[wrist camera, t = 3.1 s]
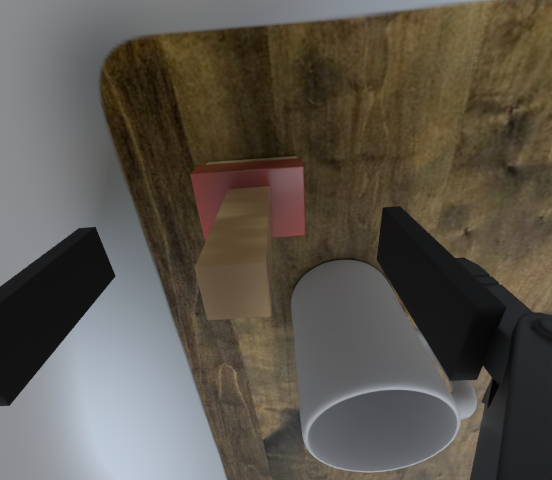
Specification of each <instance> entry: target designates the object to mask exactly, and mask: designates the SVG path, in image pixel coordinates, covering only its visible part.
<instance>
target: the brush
mask: <svg viewBox="0 0 552 480" xmlns="http://www.w3.org/2000/svg"><path fill="white" fill-rule="evenodd" d="M190 175H191V180H192V185H193V189H194V194H195V199H196V203H197V208H198V213H199V217H200V222H201V227H202V231H203V236H204V241H205V244H204V247H203V249H202V251H201V254H200V256H199V258H198V261H197V263H196V265H195V271H196V275H197V279H198V283H199V287H200V292H201V296H202V300H203V304H204V308H205V312H206V316H207V319H208V320H221V319H239V318H257V317H271V315H272V238H275V237H291V236H305V235H306V233H305V186H304V165H303V162H302V160H301V158H297V157H296V156H289V157H275V158H261V159H247V160H232V161H218V162H207V163H206V164H205V165H198V166H197V167H196V169H195V170H194V171H193V172H192V173H191V174H190Z"/></svg>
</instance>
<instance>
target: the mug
mask: <svg viewBox="0 0 552 480" xmlns="http://www.w3.org/2000/svg"><path fill="white" fill-rule="evenodd" d="M291 313H292V322H293V331H294V343H295V355H296V368H297V380H298V392H299V405H300V417H301V428H302V436H303V440H304V443H305V446H306V448H307V449H308V451H309V452H310V453H311V454H312V455H313V456H314V457H315V458H316V459H318V460H319V461H321V462H323V463H324V464H327V465H329V466H331V467H335V468H338V469H342V470H347V471H354V472H382V471H390V470H395V469H400V468H404V467H408V466H411V465H414V464H417V463H419V462H422V461H424V460H426V459H428V458H430V457H432V456H434V455H436V454H437V453H439V452H440V451H442V450H443V449H444V448H446V447H447V446H448V445H449V444H450V443H451V442H452V440H453V439H454V438H455V436H456V435H457V433H458V430H459V428H460V421H461V419H465V418H468V417H469V416H471V415H472V414H473V413H474V411H475V409H476V405H477V399H476V394H475V391H474V389H473V386H472V384H471V382H470V380H461V381H450V380H449V378H448V376H447V375H446V373H445V371H444V370H443V368H442V366H441V365H440V363H439V361H438V360H437V358H436V356H435V355H434V353H433V352H432V350H431V348H430V347H429V345H428V343H427V342H426V340H425V338H424V337H423V335H422V333H421V332H420V330H418V329H414V328H413V326H412V325H411V323H410V321H409V319H408V318H407V316H406V314H405V312H404V311H403V309H402V307H401V305H400V303H399V302H398V300H397V298H396V296H395V294H394V292H393V290H392V288H391V286H390V285H389V283H388V282H387V280H386V279H385V277H384V276H383V275H382V274H381V273H380V272H379V271H378V270H377V269H375V268H374V267H372V266H371V265H369V264H366V263H364V262H360V261H355V260H335V261H331V262H327V263H324V264H321V265H319V266H317V267H315V268H313V269H312V270H310V271H309V272H308V273H306V274H305V275H304V276H303V277H302V278H301V279H300V280H299V282H298V283H297V285H296V286H295V288H294V291H293V294H292V298H291ZM430 357H432V358H433V359H434V360H435V362H436V363H437V364H438V365H439V367H440V368H441V369H442V371H443V372H444V374H445V375H446V377H447V379H448V381H449V383H450V385H451V387H452V391H453V392H450V391H449V390H448V388H447V386H446V384H445V383H444V381H443V379H442V377H441V376H440V374H439V372H438V370H437V369H436V367H435V365H434V363H433V362H432V360H431V358H430Z"/></svg>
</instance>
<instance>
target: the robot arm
mask: <svg viewBox="0 0 552 480" xmlns="http://www.w3.org/2000/svg"><path fill="white" fill-rule="evenodd" d="M377 260H378V262H379V264H380V265H381V267H382V269H383V270H384V272H385V274H386V275H387V277H388V279H389V280H390V282H391V284H392V285H393V287H394V289H395V290H396V292H397V294H398V295H399V297H400V299H401V300H402V302H403V304H404V305H405V307H406V308H407V310H408V312H409V313H410V315H411V317H412V318H413V320H414V322H415V323H416V325H417V327H418V328H419V330H420V332H421V333H422V335H423V337H424V338H425V340H426V342H427V343H428V345H429V347H430V348H431V350H432V352H433V353H434V355H435V356H436V358H437V360H438V361H439V363H440V365H441V366H442V368H443V370H444V371H445V373H446V375H447V376H448V378H449V380H450V381H461V380H477V378H478V376H479V373H480V371H481V369H482V366H484V367H485V369H486V370H487V371H488V373H489V374H490V375H491V377H492V379H491V381H490V384H489V386H488V388H487V390H486V393H485V395H484V397H483V399H482V403H484V404H485V407H484V412H483V417H482V422H481V427H480V432H479V437H478V442H477V447H476V452H475V457H474V462H473V467H472V473H471V478H470V480H552V315H548V314H544V313H534V312H532V311H531V310H530V309H529V308H528V307H526V306H525V305H524V304H523V303H522V302H521V301H519V300H518V299H517V298H516V297H515V296H514V295H513V294H511V293H510V292H509V291H508V290H507V289H506V288H504V287H503V286H502V285H499V282H498V281H496V280H495V279H494V278H493V277H490V274H488V273H487V272H486V271H485V270H484V269H483V268H481V267H480V266H479V265H477V264H475V263H473V262H471V261H469V260H467V259H465V258H454V257H453V256H452V255H451V254H450V253H449V252H448V251H447V250H446V249H445V248H444V247H443V246H442V245H441V244H439V243H438V242H437V241H436V240H435V239H434V238H433V237H432V236H431V235H430V234H429V233H428V232H427V231H426V230H425V229H424V228H422V227H421V226H420V225H419V224H418V223H417V222H416V221H415V220H414V219H413V218H412V217H411V216H410V215H409V214H408V213H407V212H406V211H404V210H403V209H402V208H401V207H400V206H398V207H383V211H382V219H381V228H380V236H379V245H378V254H377ZM114 277H115V274H114V271H113V269H112V266H111V264H110V262H109V259H108V257H107V254H106V252H105V249H104V247H103V244H102V242H101V240H100V237H99V235H98V232H97V230H96V227H90V228H79V229H77V230H76V231H75V232H74V233H72V234H71V235H69V236H68V237H67V238H65V239H64V240H63V241H61V242H60V243H58V244H57V245H56V246H55V247H53V248H52V249H51V250H49V251H48V252H47V253H45V254H44V255H42V256H41V257H40V258H39V259H37V260H36V261H34V262H33V263H31V264H30V265H29V266H28V267H26V268H25V269H23V270H22V271H21V272H20V273H18V274H17V275H15V276H14V277H13V278H11V279H10V280H9V281H7V282H6V283H5V284H3V285H2V286H0V406H10V404H11V403H12V402H13V401H14V399H15V398H16V397H17V396H18V395H19V393H20V392H21V391H22V390H23V389H24V387H25V386H26V385H27V384H28V382H29V381H30V380H31V379H32V378H33V376H34V375H35V374H36V373H37V371H38V370H39V369H40V368H41V367H42V365H43V364H44V363H45V362H46V360H47V359H48V358H49V357H50V356H51V354H52V353H53V352H54V351H55V350H56V348H57V347H58V346H59V345H60V343H61V342H62V341H63V340H64V338H65V337H66V336H67V335H68V334H69V332H70V331H71V330H72V329H73V328H74V326H75V325H76V324H77V323H78V321H79V320H80V319H81V318H82V317H83V315H84V314H85V313H86V312H87V310H88V309H89V308H90V307H91V306H92V304H93V303H94V302H95V300H96V299H97V298H98V297H99V296H100V295H101V293H102V292H103V291H104V290H105V288H106V287H107V286H108V285H109V284H110V282H111V281H112V280H113V279H114Z"/></svg>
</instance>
